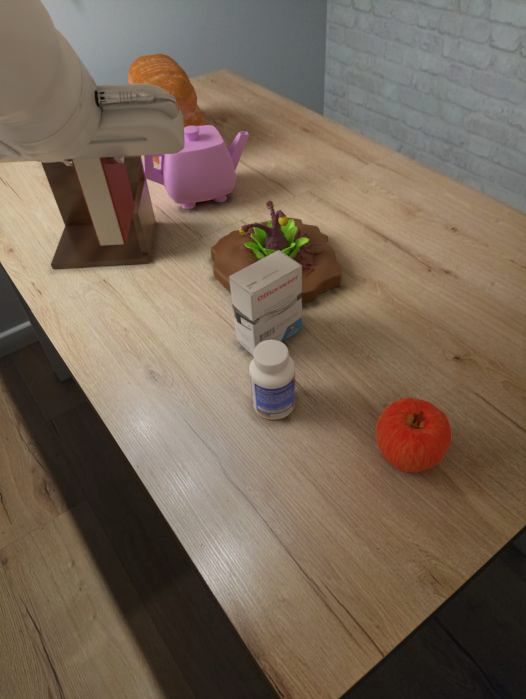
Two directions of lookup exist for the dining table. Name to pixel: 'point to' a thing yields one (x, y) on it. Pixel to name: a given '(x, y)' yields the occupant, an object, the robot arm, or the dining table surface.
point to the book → (106, 198)
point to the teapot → (198, 166)
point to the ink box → (267, 300)
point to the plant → (289, 239)
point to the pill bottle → (272, 380)
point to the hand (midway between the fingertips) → (95, 157)
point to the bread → (168, 85)
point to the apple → (413, 434)
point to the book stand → (79, 232)
